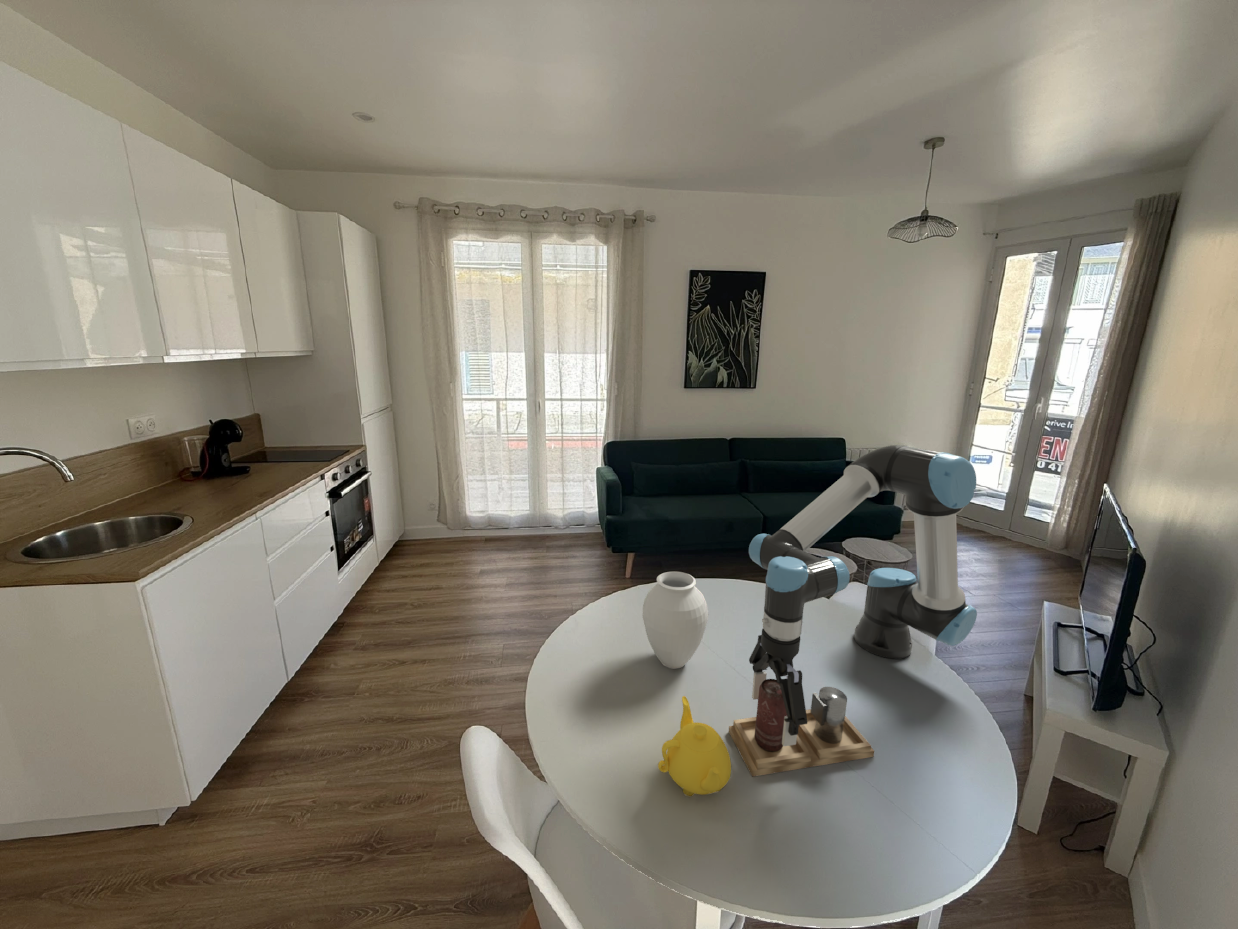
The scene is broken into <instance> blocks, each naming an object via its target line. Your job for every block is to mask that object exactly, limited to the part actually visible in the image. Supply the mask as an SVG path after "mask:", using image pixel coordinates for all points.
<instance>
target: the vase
mask: <svg viewBox="0 0 1238 929" xmlns="http://www.w3.org/2000/svg"><path fill="white" fill-rule="evenodd" d="M696 584H697V580H696V578H695V577H694V576H692V575H691V574H689V573H686V572H682V571H676V570H675V571H667V572H663V573H661V574H659V575H658V576H657V577H656V584H655V585H654V586H652V587H651V588H650V589H649V591H647V594H646V596H645V598H644V600H643V604H642V605H643V606H642V621H643V626H644V629H645V634H646V637H647V639H648V642H649V644H650V646H651V649H652V650H653V652H654V654H655V657H657V659H658V660H659V661H660V663H661V664H662V665H663V666H664V667H666V668H669V669H674V670H675V669H680V668H683V667H684V666H685V665H686V664H687V663H688V662H689V661H690V660H691V659H692V658H693V656H694V655H695V653H696V651H697V649H698V648H699V646H700V644H701V642H702V640H703V637H704V634H705V630H706V628H707V624H708V620H709V609H708V603H707V601H706V599H705V596H704V594H703V593H702V592H701V591H700V590H699V588H697V587H696Z"/></svg>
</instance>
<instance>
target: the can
mask: <svg viewBox="0 0 1238 929" xmlns="http://www.w3.org/2000/svg"><path fill="white" fill-rule="evenodd" d="M785 716H787V713H786V709H785V705H784V700H783V696H782V692H781V687H780V684H779V683H777V680H776V678H766V680H764V681H763V682H762V684H761V685H760V687H759V696H758V699H757V706H756V716H755V717H756V726H755V740H756V742H757V744H758V745H759V746H760V747H761V748H762V749H764V750H766V751H768V752H777V751H779V750H780V749H781V748H782V747H783V745H782V737H783V727H784V718H785Z"/></svg>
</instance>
